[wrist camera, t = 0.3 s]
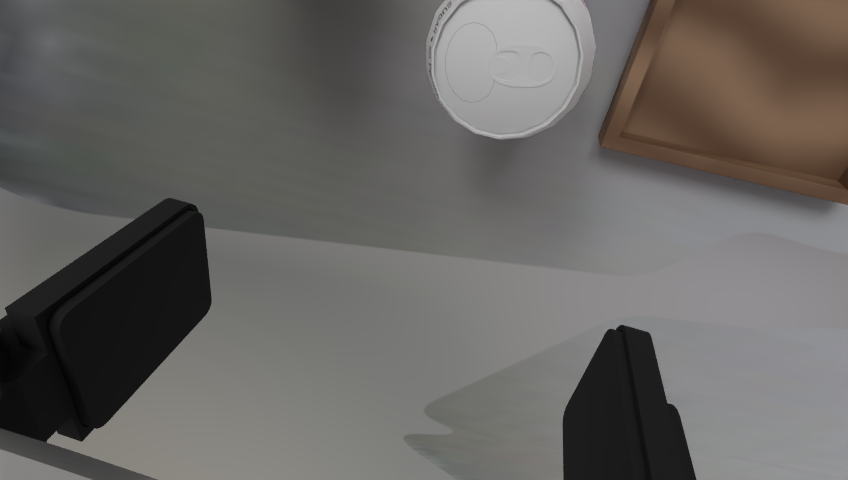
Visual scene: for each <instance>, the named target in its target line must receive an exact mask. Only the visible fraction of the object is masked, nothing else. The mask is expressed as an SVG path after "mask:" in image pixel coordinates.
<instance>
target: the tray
mask: <svg viewBox="0 0 848 480" xmlns="http://www.w3.org/2000/svg"><path fill="white" fill-rule="evenodd" d="M599 141H600V146H601V147H605V148H609V149H613V150H617V151H622V152H626V153H630V154H634V155H639V156H643V157H647V158H651V159H656V160H660V161H664V162H668V163H672V164H677V165H681V166H685V167H689V168H694V169H698V170H702V171H706V172H711V173H715V174H719V175H723V176H728V177H732V178H736V179H740V180H745V181H749V182H753V183H757V184H762V185H766V186H770V187H774V188H778V189H783V190H787V191H791V192H795V193H800V194H804V195H808V196H812V197H817V198H821V199H825V200H829V201H834V202H838V203H842V204H846V205H848V0H651V1H650V3H649V6H648V9H647V11H646V14H645V17H644V19H643V22H642V24H641V27H640V30H639V32H638V35H637V37H636V40H635V43H634V45H633V48H632V50H631V53H630V56H629V58H628V61H627V63H626V66H625V69H624V71H623V74H622V76H621V79H620V82H619V84H618V87H617V89H616V92H615V95H614V97H613V100H612V103H611V105H610V108H609V110H608V113H607V116H606V118H605V121H604V123H603V126H602V129H601V131H600V134H599Z"/></svg>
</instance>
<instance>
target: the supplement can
mask: <svg viewBox="0 0 848 480" xmlns="http://www.w3.org/2000/svg"><path fill="white" fill-rule="evenodd" d="M595 50H596V45H595V39H594V34H593V28H592V23H591V17H590V14H589V12H588V9H587V7H586V4H585V2H584V0H445V1H444V2H443V3H442V4H441V6H440V7H439V8H438V10H437V11H436V13H435V16H434V19H433V22H432V25H431V28H430V31H429V34H428V37H427V40H426V71H427V74H428V77H429V80H430V83H431V86H432V89H433V92H434V95H435V98H436V99H437V100H438V101H439V103H440V104H441V105H442V107H443V108H444V109H445V111H446V112H447V113H448V114H449V116H450V117H451V118H452V119H453V120H454V121H456V122H457V123H459V124H461V125H462V126H464V127H465V128H467V129H468V130H470V131H471V132H473V133H474V134H478V135H482V136H487V137H491V138H495V139H499V140H505V139H516V138H527V137H530V136H532V135H534V134H536V133H539V132H541V131H543V130H545V129H548V128H550V127H552V126H554V125H555V124H556V123H557V122H558V121H559V120H561V119H562V118H563V117H564V116H565V115H566V114H567V113H568V112H569V111H570V110H571V109H573V108H574V107H575V106H576V104H577V102H578V100H579V99H580V97H581V95H582V93H583V91H584V90H585V88H586V86H587V84H588V82H589V81H590V79H591V73H592V67H593V62H594V56H595Z"/></svg>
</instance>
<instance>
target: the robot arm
mask: <svg viewBox="0 0 848 480" xmlns="http://www.w3.org/2000/svg"><path fill="white" fill-rule="evenodd" d="M210 306H211V289H210V280H209V269H208V259H207V250H206V239H205V229H204V219H203V216H202V214H201V213H199V212H198V209H197V207H196V206H195V205H193V204H190V203H187V202H183V201H180V200H176V199H172V198H167V199H165V200H163V201H162V202H160V203H159V204H157V205H156V206H154V207H153V208H151V209H150V210H148V211H147V212H146V213H144V214H143V215H141V216H140V217H138V218H137V219H135V220H134V221H132V222H131V223H129V224H128V225H126V226H125V227H123V228H122V229H120V230H119V231H118V232H116V233H115V234H113V235H112V236H110V237H109V238H107V239H106V240H104V241H103V242H101V243H100V244H98V245H97V246H95V247H94V248H93V249H91V250H90V251H88V252H87V253H85V254H84V255H82V256H81V257H79V258H78V259H76V260H75V261H73V262H72V263H70V264H69V265H68V266H66V267H65V268H63V269H62V270H60V271H59V272H57V273H56V274H54V275H53V276H51V277H50V278H48V279H47V280H45V281H44V282H42V283H41V284H40V285H38V286H37V287H35V288H34V289H32V290H31V291H29V292H28V293H26V294H25V295H23V296H22V297H20V298H19V299H17V300H16V301H15V302H13V303H12V304H10V305H9V306H7V307H6V308H5V310H6V312H7V314H8V315H6V316H5V317H4V318H2V319H1V320H0V480H157V479H154V478H151V477H148V476H145V475H142V474H139V473H136V472H133V471H130V470H127V469H124V468H121V467H119V466H115V465H113V464H110V463H107V462H104V461H100V460H98V459H94V458H92V457H89V456H86V455H83V454H80V453H77V452H74V451H71V450H68V449H65V448H61V447H58V446H55V445H52V444H49V443H47V439H49V438H50V437H51V435H53V434H54V432H55V431H57V432H58V434H61V435H64V436H67V437H70V438H73V439H76V440H79V441H83V440H84V439H85V438H86V437H87V436H88V434H89V433H90V432H91V431H92V430H93V429H94V428H96V429H97V428H100V427H102V426H104V424H106V423H107V422H108V421H109V420H110V419H111V418H112V417H113V415H114V414H115V413H116V412H117V411H118V410H119V409H120V408H121V407H122V405H124V403H125V402H126V401H127V400H128V399H129V398H130V397H131V396H132V395H133V394H134V392H135V391H136V390H137V389H138V388H139V387H140V386H141V385H142V384H143V383H144V382H145V381H146V379H147V378H148V377H149V376H150V375H151V374H152V373H153V372H154V371H155V370H156V369H157V367H158V366H159V365H160V364H161V363H162V362H163V361H164V360H165V359H166V358H167V357H168V355H169V354H170V353H171V352H172V351H173V350H174V349H175V348H176V347H177V346H178V344H180V342H181V341H182V340H183V339H184V338H185V337H186V336H187V335H188V334H189V332H190V331H191V330H192V329H193V328H194V327H195V326H196V325H197V324H198V323H199V322H200V321H201V320H202V318H203V317H204V316H205V315H206V314H207V312H208V311H209V309H210ZM563 468H564V480H696V477H695V473H694V469H693V465H692V461H691V457H690V453H689V450H688V446H687V442H686V438H685V434H684V430H683V426H682V423H681V419H680V415H679V413H678V410H677V409H676V408H675V406H674V405H672V404H668V403H667V401H666V396H665V392H664V388H663V384H662V380H661V375H660V371H659V367H658V363H657V359H656V355H655V350H654V346H653V342H652V338H651V335H650V334H649V333H648V332H646V331H642V330H638V329H635V328H631V327H628V326H624V325H620V326H619V327H618V328H617V329H616V330H613V329H609V330H607V332H606V333H605V335H604V337H603V339H602V341H601V343H600V345H599V346H598V348H597V350H596V352H595V354H594V356H593V358H592V360H591V361H590V363H589V365H588V367H587V369H586V371H585V373H584V374H583V376H582V378H581V380H580V382H579V384H578V386H577V387H576V389H575V391H574V393H573V395H572V397H571V399H570V401H569V402H568V404H567V406H566V409H565V412H564V416H563Z"/></svg>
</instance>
